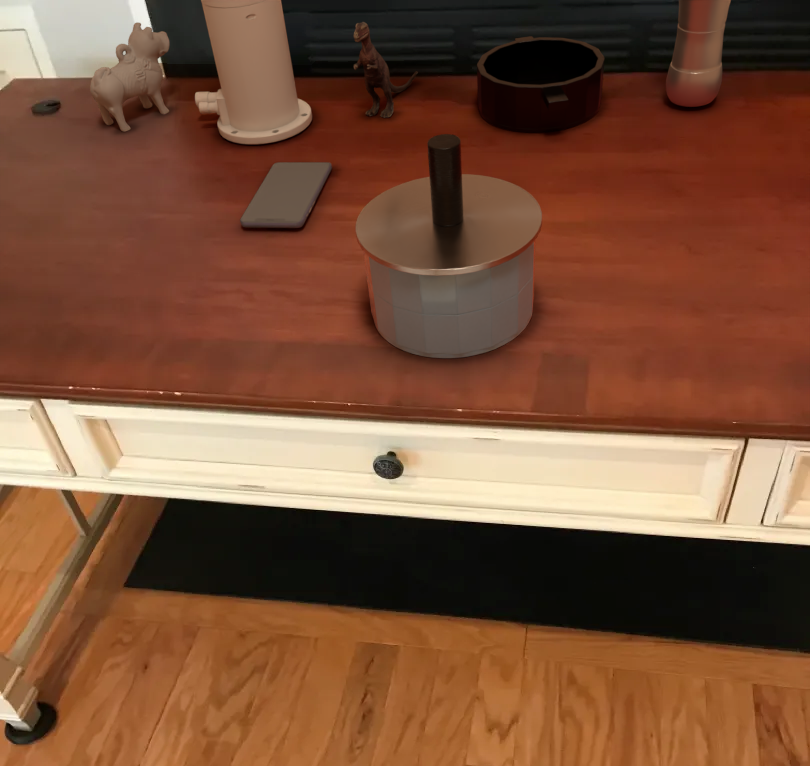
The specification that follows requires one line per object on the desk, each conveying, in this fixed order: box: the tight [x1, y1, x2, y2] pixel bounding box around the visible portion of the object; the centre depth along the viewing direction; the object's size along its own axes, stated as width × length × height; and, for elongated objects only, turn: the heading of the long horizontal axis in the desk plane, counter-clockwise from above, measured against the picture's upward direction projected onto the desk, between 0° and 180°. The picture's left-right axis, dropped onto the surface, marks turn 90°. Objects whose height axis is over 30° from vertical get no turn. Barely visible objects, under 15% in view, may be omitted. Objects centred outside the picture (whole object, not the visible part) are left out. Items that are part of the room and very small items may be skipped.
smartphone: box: [239, 161, 333, 229], centre depth 105 cm, size 8×1×15 cm
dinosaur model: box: [353, 21, 419, 119], centre depth 117 cm, size 4×12×15 cm
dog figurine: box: [89, 21, 170, 132], centre depth 122 cm, size 5×13×11 cm, turn 138°
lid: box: [355, 133, 543, 276], centre depth 79 cm, size 17×17×8 cm
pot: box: [362, 240, 536, 359], centre depth 85 cm, size 16×16×9 cm
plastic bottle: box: [665, 0, 732, 108], centre depth 106 cm, size 6×7×20 cm
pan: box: [476, 35, 606, 134], centre depth 115 cm, size 16×21×6 cm
